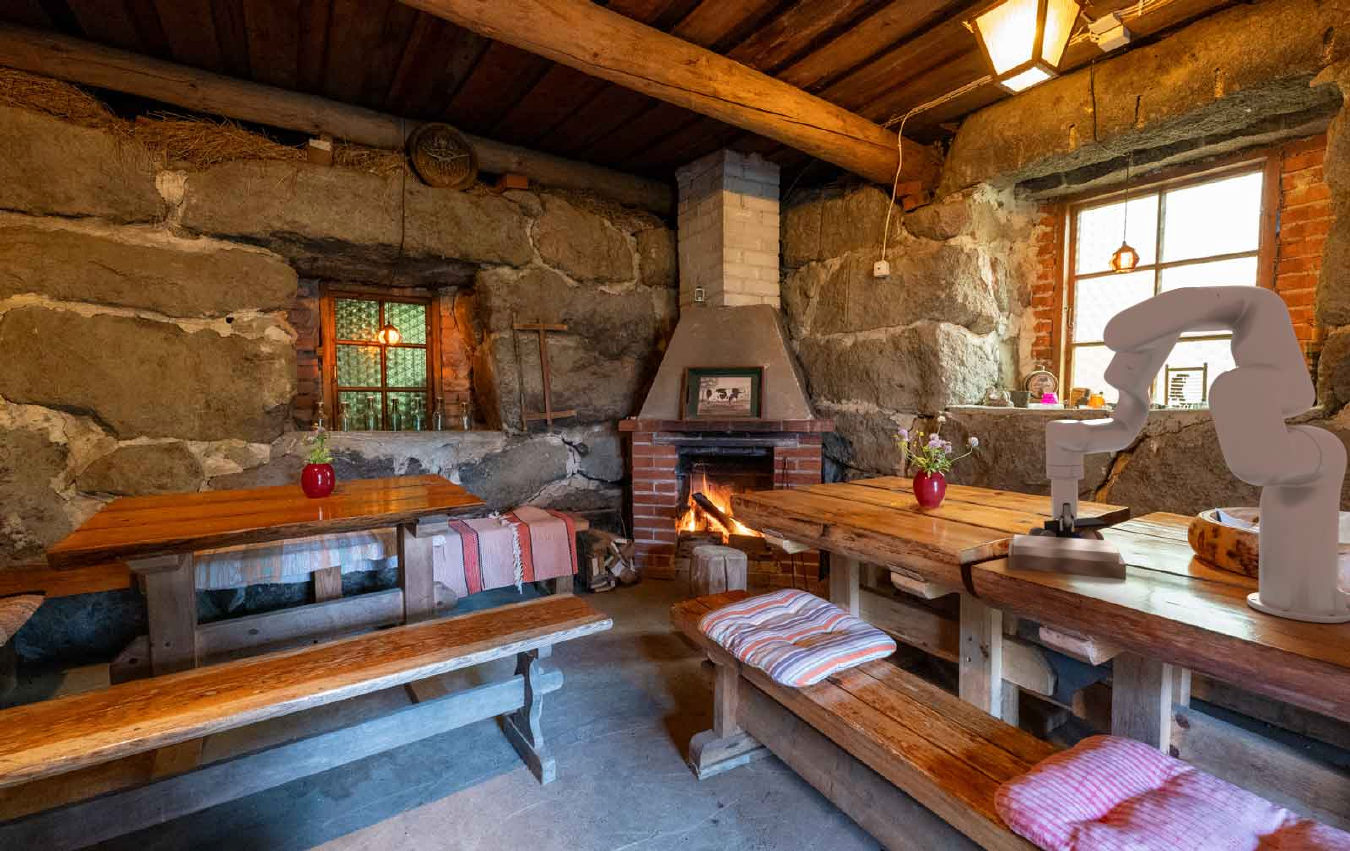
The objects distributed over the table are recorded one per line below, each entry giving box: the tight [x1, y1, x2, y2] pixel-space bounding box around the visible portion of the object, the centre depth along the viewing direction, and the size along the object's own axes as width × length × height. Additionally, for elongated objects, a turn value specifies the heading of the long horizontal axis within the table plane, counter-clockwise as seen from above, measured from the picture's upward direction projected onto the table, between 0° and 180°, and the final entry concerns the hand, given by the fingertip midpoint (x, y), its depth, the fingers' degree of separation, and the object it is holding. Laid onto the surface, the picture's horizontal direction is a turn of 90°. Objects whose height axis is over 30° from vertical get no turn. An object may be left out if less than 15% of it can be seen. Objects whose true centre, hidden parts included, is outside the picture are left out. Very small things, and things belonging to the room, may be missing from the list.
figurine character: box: [1028, 516, 1108, 540], centre depth 147 cm, size 7×8×15 cm
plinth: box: [1008, 534, 1127, 580], centre depth 136 cm, size 21×13×5 cm, turn 60°
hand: (1066, 544), depth 147 cm, fingers closed on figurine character, 8 cm apart
